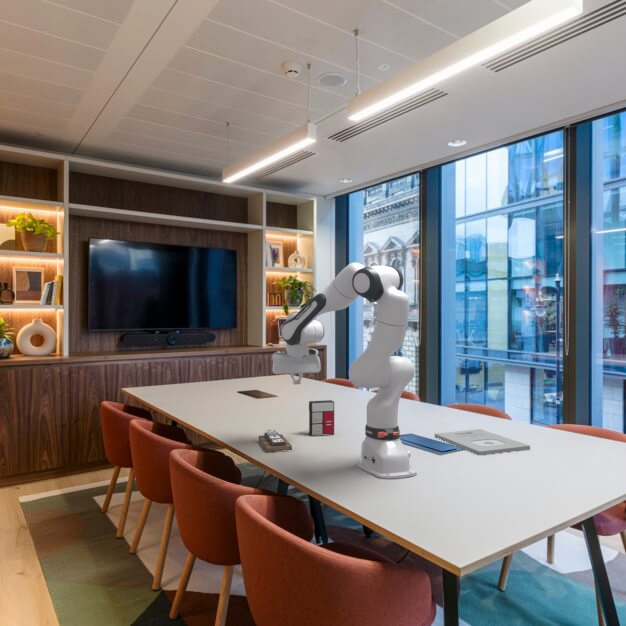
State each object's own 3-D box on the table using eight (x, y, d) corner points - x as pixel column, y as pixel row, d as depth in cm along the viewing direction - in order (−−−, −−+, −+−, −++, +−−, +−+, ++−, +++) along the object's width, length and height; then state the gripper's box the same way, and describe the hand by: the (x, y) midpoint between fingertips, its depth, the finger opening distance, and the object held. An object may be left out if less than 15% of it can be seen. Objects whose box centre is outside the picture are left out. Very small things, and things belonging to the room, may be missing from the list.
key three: (283, 445, 197) (283, 440, 197) (273, 446, 196) (273, 441, 196) (281, 442, 201) (281, 438, 201) (271, 443, 200) (271, 438, 200)
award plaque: (480, 433, 226) (480, 429, 226) (530, 450, 198) (530, 445, 198) (434, 438, 218) (434, 433, 218) (479, 457, 190) (479, 451, 190)
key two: (277, 435, 208) (277, 431, 208) (268, 436, 207) (268, 431, 207) (275, 433, 212) (275, 429, 212) (266, 433, 211) (266, 429, 211)
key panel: (291, 450, 196) (291, 442, 196) (267, 452, 193) (267, 443, 193) (281, 438, 214) (281, 431, 214) (258, 440, 212) (258, 432, 212)
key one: (280, 441, 203) (280, 437, 203) (270, 442, 201) (270, 437, 201) (278, 439, 206) (278, 434, 206) (269, 439, 205) (269, 435, 205)
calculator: (311, 436, 219) (311, 402, 219) (308, 434, 223) (308, 401, 223) (334, 435, 222) (334, 401, 222) (332, 432, 226) (332, 400, 226)
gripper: (273, 352, 200) (273, 386, 200) (321, 350, 206) (322, 384, 205) (270, 351, 206) (270, 384, 206) (317, 349, 212) (317, 382, 211)
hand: (296, 384), depth 206 cm, fingers closed
